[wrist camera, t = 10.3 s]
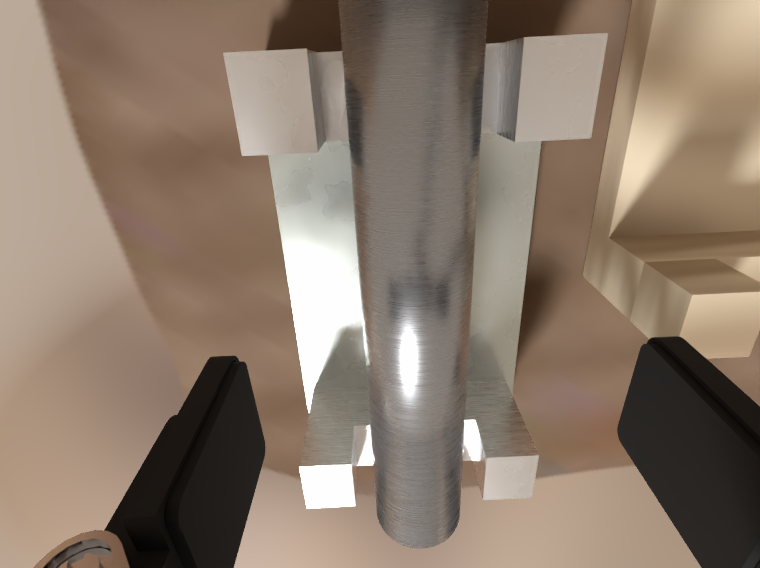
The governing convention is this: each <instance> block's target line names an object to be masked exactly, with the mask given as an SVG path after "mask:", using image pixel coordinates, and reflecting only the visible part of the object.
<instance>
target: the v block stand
mask: <svg viewBox="0 0 760 568" xmlns="http://www.w3.org/2000/svg"><path fill="white" fill-rule="evenodd" d="M607 37H608V33H596V34H577V35H558V36H538V37H523V38H519V39H515V40H511V41H507V42H503V43H491V44H486V52H485V70H484V88H483V106H482V124H481V142H480V160H479V178H478V196H477V214H476V233H475V251H474V269H473V287H472V305H471V323H470V341H469V359H468V377H467V395H466V413H465V431H464V450H463V461H468V460H472V461H473V464H474V468H475V472H476V476H477V480H478V483H479V487H480V491H481V494H482V498H483V500H494V499H515V498H532V494H533V488H534V482H535V476H536V470H537V464H538V458H539V455H538V452H537V450H536V448H535V445H534V443H533V441H532V439H531V436H530V434H529V432H528V430H527V427H526V425H525V423H524V421H523V418H522V416H521V414H520V412H519V409H518V407H517V405H516V402H515V400H514V398H513V396H512V392H513V383H514V374H515V366H516V357H517V348H518V340H519V331H520V323H521V314H522V305H523V297H524V288H525V279H526V271H527V262H528V253H529V245H530V236H531V227H532V219H533V210H534V201H535V193H536V184H537V176H538V167H539V158H540V150H541V141H548V140H568V139H587V138H591V135H592V129H593V122H594V116H595V110H596V104H597V98H598V92H599V86H600V80H601V74H602V68H603V62H604V55H605V49H606V43H607ZM223 54H224V60H225V65H226V71H227V76H228V81H229V87H230V92H231V98H232V103H233V109H234V114H235V120H236V125H237V131H238V136H239V141H240V147H241V152H242V156H254V155H268V157H269V163H270V170H271V176H272V182H273V189H274V195H275V201H276V208H277V214H278V221H279V227H280V233H281V240H282V246H283V252H284V259H285V265H286V272H287V278H288V284H289V291H290V297H291V303H292V310H293V316H294V322H295V329H296V335H297V342H298V348H299V354H300V361H301V367H302V373H303V380H304V386H305V393H306V399H307V405H308V412H309V416H308V422H307V427H306V433H305V438H304V444H303V449H302V454H301V460H300V465H299V469H300V474H301V480H302V485H303V490H304V495H305V501H306V506H307V509H308V508H329V507H347V506H356V483H357V466H365V465H373V457H372V443H371V430H370V417H369V404H368V390H367V377H366V364H365V350H364V337H363V324H362V310H361V297H360V284H359V270H358V257H357V244H356V230H355V217H354V204H353V190H352V177H351V164H350V151H349V137H348V124H347V111H346V97H345V84H344V71H343V57H342V51H336V52H314V51H312V50H309V49H307V48H306V49H287V50H268V51H248V52H229V53H223Z"/></svg>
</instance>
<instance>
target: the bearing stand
mask: <svg viewBox="0 0 760 568" xmlns="http://www.w3.org/2000/svg"><path fill="white" fill-rule="evenodd" d="M583 277H584V278H585V279H586V280H588V281H589V282H590V283H591V284H592V285H593V286H594V287H595V288H596V289H597V290H598V291H599V292H600V293H601V294H602V295H603V296H604V297H605V298H607V299H608V300H609V301H610V302H611V303H612V304H613V305H614V306H615V307H616V308H617V309H618V310H619V311H620V312H621V313H622V314H623V315H624V316H626V317H627V318H628V319H629V320H630V321H631V322H632V323H633V324H634V325H635V326H636V327H637V328H638V329H639V330H640V331H641V332H642V333H643V334H645V335H646V336H647V337H648V338H649V339H650V338H653V337H670V336H679V337H682V338H683V339H685V340H686V341H687V342H688V343H689V344H690V345H691V346H693V347H694V348H695V349H696V350H697V351H698V352H699V353H700V354H702V355H703V356H704V357H705V358H706V359H711V358H731V357H749V355H750V353H751V350H752V348H753V345H754V343H755V341H756V338H757V336H758V333H759V331H760V0H632V5H631V10H630V16H629V21H628V27H627V32H626V38H625V43H624V49H623V55H622V60H621V66H620V71H619V77H618V82H617V88H616V93H615V99H614V104H613V110H612V116H611V121H610V127H609V132H608V138H607V143H606V149H605V154H604V160H603V165H602V171H601V177H600V182H599V188H598V193H597V199H596V204H595V210H594V215H593V221H592V226H591V232H590V237H589V243H588V249H587V254H586V260H585V265H584V271H583Z"/></svg>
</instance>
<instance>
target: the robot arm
mask: <svg viewBox="0 0 760 568" xmlns="http://www.w3.org/2000/svg"><path fill="white" fill-rule="evenodd" d="M617 430H618V437H619V440H620V442H621V444H622V445H623V447H624V448H625V450H626V452H627V453H628V455H629V456H630V458H631V459H632V461H633V462H634V464H635V465H636V467H637V469H638V470H639V472H640V473H641V475H642V476H643V477H644V479H645V481H646V482H647V484H648V486H649V487H650V488H651V490H652V492H653V493H654V495H655V496H656V498H657V499H658V501H659V503H660V504H661V506H662V507H663V508H664V510H665V512H666V513H667V515H668V516H669V518H670V519H671V521H672V523H673V524H674V526H675V527H676V529H677V530H678V532H679V533H680V535H681V536H682V538H683V540H684V541H685V543H686V544H687V546H688V547H689V549H690V550H691V552H692V553H693V555H694V557H695V558H696V559H697V561H698V563H699V564H700V566H701V567H702V568H760V406H759V405H757V404H756V403H755V402H754V401H753V400H752V399H751V398H750V397H748V396H747V395H746V394H745V393H744V392H743V391H742V390H741V389H740V388H738V387H737V386H736V385H735V384H734V383H733V382H732V381H731V380H729V379H728V378H727V377H726V376H725V375H724V374H723V373H722V372H721V371H719V370H718V369H717V368H716V367H715V366H714V365H713V364H712V363H710V362H709V361H708V360H707V359H706V358H705V357H704V356H703V355H702V354H700V353H699V352H698V351H697V350H696V349H695V348H694V347H693V346H691V345H690V344H689V343H688V342H687V341H686V340H685V339H683V338H682V337H679V336H670V337H653V338H650V339H649V340H648V342H647V344H643V345H642V346H641V349H640V352H639V355H638V359H637V362H636V365H635V369H634V372H633V376H632V379H631V383H630V386H629V389H628V393H627V396H626V400H625V403H624V407H623V410H622V414H621V417H620V420H619V424H618V429H617ZM264 456H265V440H264V436H263V432H262V428H261V424H260V420H259V415H258V411H257V407H256V403H255V399H254V394H253V390H252V386H251V382H250V378H249V374H248V369H247V366H246V363H245V362H239V360H238V358H237V357H236V356H218V357H210V358H209V360H208V361H207V363H206V364H205V366H204V368H203V370H202V372H201V373H200V375H199V377H198V379H197V381H196V382H195V384H194V386H193V388H192V390H191V391H190V393H189V395H188V397H187V399H186V400H185V402H184V404H183V406H182V407H181V409H180V411H179V413H178V415H174V416H172V417H171V418H170V419H169V420H168V422H167V423H166V424H165V426H164V428H163V430H162V431H161V433H160V435H159V437H158V439H157V440H156V442H155V443H154V445H153V447H152V449H151V450H150V452H149V454H148V456H147V457H146V459H145V461H144V463H143V464H142V466H141V468H140V470H139V471H138V473H137V475H136V476H135V478H134V480H133V482H132V483H131V485H130V487H129V489H128V490H127V492H126V494H125V496H124V497H123V499H122V501H121V502H120V504H119V506H118V508H117V509H116V511H115V513H114V515H113V516H112V518H111V520H110V522H109V523H108V525H107V527H106V529H105V530H104V531H102V530H94V531H90V532H85V533H81V534H79V535H77V536H75V537H72V538H70V539H68V540H66V541H64V542H63V543H61V544H60V545H58V546H57V547H56V548H54V549H53V550H51V551H50V552H49V553H48V554H47V555H46V556H45V557H44V558H43V559H41V560H40V561H39V562H38V563H37V564H36V565H35V567H34V568H234V564H235V560H236V557H237V553H238V550H239V546H240V543H241V539H242V535H243V532H244V528H245V524H246V521H247V517H248V514H249V510H250V506H251V503H252V499H253V496H254V492H255V489H256V485H257V481H258V478H259V474H260V471H261V467H262V464H263V460H264Z"/></svg>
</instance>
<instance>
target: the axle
mask: <svg viewBox="0 0 760 568" xmlns="http://www.w3.org/2000/svg"><path fill="white" fill-rule="evenodd" d="M338 4H339V17H340V31H341V44H342V57H343V71H344V84H345V97H346V111H347V124H348V137H349V151H350V164H351V177H352V190H353V204H354V217H355V230H356V244H357V257H358V270H359V284H360V297H361V310H362V324H363V337H364V350H365V364H366V377H367V390H368V404H369V417H370V430H371V443H372V457H373V470H374V483H375V497H376V510H377V517H378V520H379V523H380V525H381V526H382V528H383V530H384V531H385V533H386V534H387V535H388V536H390V537H391V538H392V539H393V540H395V541H396V542H398V543H400V544H402V545H404V546H408V547H412V548H428V547H432V546H436V545H438V544H440V543H442V542H444V541H445V540H446V539H448V538H449V537H450V536H451V535H452V533H453V532H454V531H455V529H456V527H457V525H458V522H459V517H460V503H461V486H462V468H463V450H464V431H465V413H466V395H467V377H468V359H469V341H470V323H471V305H472V287H473V269H474V251H475V233H476V214H477V196H478V178H479V160H480V142H481V124H482V106H483V88H484V70H485V52H486V34H487V16H488V0H338Z"/></svg>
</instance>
